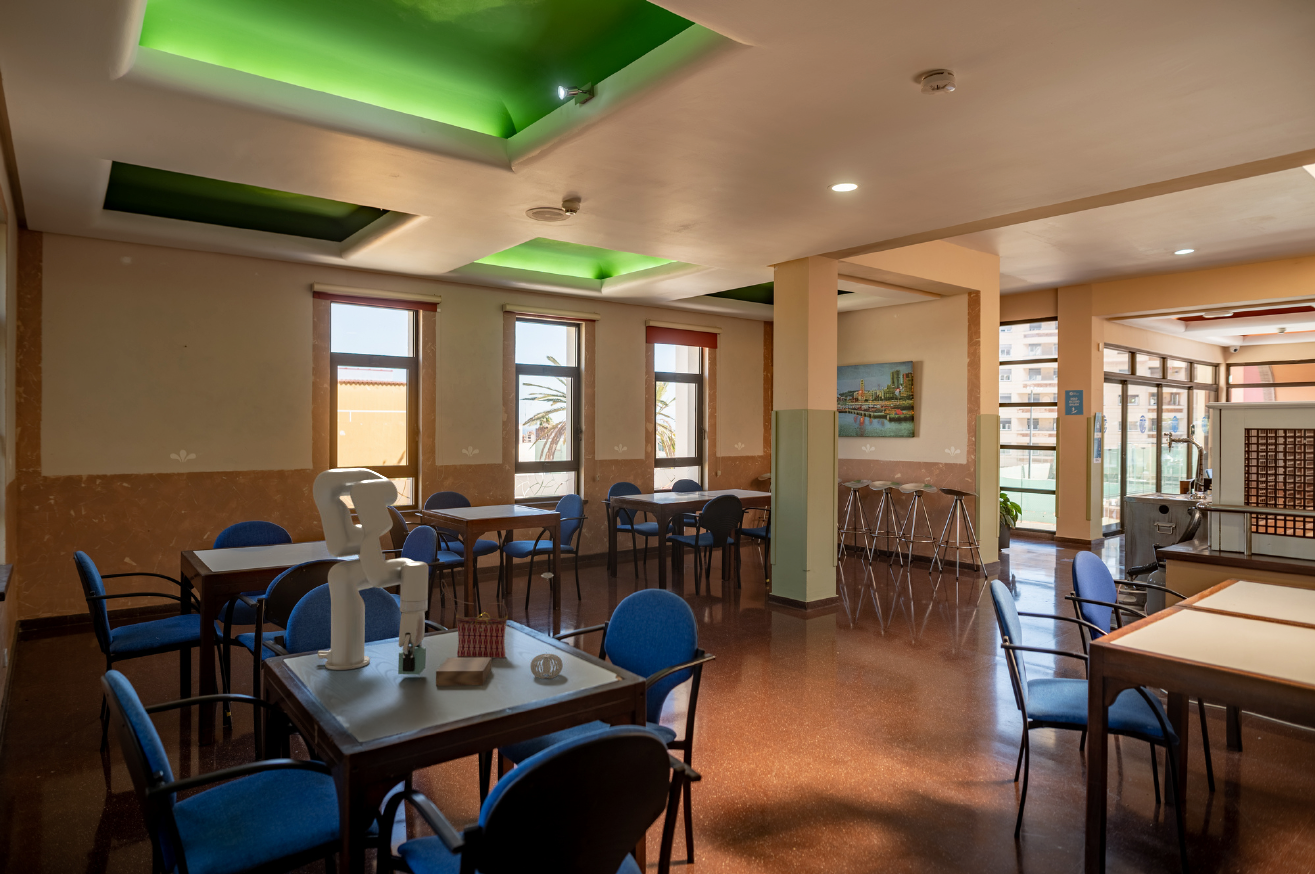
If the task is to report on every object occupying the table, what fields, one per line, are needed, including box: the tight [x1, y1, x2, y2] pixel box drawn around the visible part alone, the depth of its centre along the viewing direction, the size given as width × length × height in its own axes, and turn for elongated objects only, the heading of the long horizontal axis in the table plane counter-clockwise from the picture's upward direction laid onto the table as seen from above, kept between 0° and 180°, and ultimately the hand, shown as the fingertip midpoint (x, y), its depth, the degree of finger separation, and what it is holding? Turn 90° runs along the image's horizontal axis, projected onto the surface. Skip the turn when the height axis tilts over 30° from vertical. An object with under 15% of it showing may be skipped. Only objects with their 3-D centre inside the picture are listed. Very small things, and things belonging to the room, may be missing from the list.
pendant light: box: [530, 572, 564, 680], centre depth 214 cm, size 9×9×30 cm
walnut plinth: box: [435, 657, 492, 687], centre depth 212 cm, size 13×13×4 cm
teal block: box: [397, 646, 427, 676], centre depth 212 cm, size 6×6×6 cm
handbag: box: [440, 579, 509, 659], centre depth 232 cm, size 7×21×25 cm, turn 84°
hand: (412, 666), depth 212 cm, fingers closed on teal block, 6 cm apart
